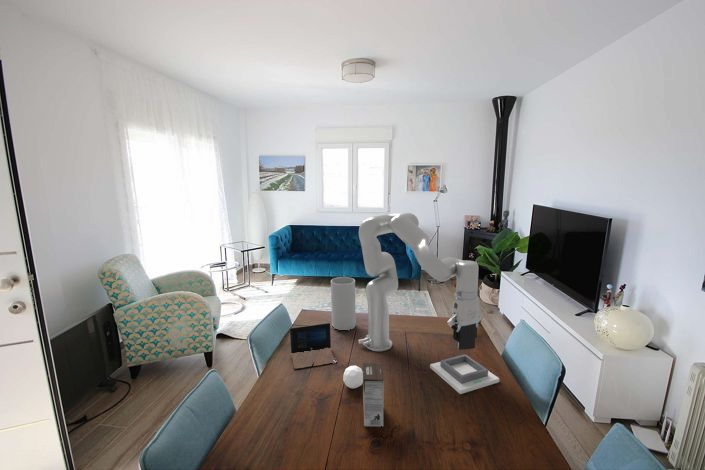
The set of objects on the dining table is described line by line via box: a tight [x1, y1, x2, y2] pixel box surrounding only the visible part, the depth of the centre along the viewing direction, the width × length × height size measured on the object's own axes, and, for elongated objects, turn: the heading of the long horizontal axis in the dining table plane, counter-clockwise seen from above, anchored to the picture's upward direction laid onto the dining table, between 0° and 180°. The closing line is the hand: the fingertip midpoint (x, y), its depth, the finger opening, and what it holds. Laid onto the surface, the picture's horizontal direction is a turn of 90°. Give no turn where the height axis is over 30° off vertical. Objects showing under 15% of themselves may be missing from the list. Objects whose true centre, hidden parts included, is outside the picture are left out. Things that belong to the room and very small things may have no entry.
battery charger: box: [456, 324, 477, 351], centre depth 122 cm, size 7×4×11 cm, turn 99°
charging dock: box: [429, 353, 500, 395], centre depth 124 cm, size 18×18×4 cm
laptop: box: [289, 322, 338, 364], centre depth 137 cm, size 18×12×13 cm
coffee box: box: [362, 362, 385, 427], centre depth 102 cm, size 9×6×16 cm
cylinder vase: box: [330, 276, 357, 331], centre depth 167 cm, size 12×12×25 cm
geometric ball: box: [342, 365, 363, 389], centre depth 118 cm, size 8×8×8 cm
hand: (465, 338), depth 122 cm, fingers closed on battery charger, 7 cm apart
